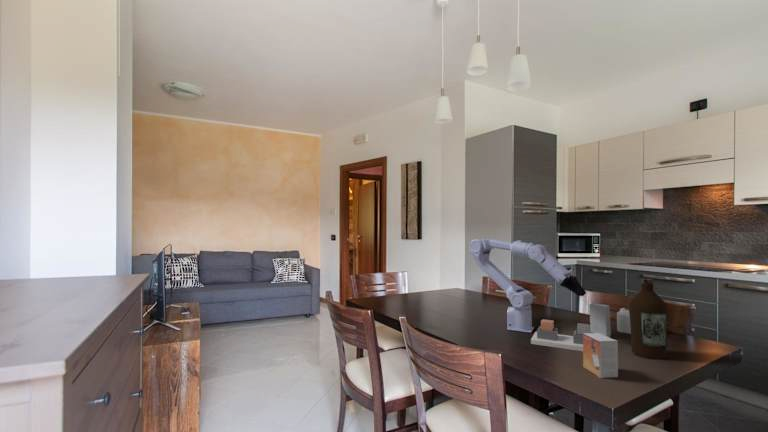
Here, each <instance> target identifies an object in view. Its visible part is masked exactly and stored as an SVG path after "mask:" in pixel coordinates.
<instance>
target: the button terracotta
mask: <svg viewBox="0 0 768 432" xmlns="http://www.w3.org/2000/svg"><path fill="white" fill-rule="evenodd" d="M554 323H555V321H554V319H553V320H551V319H541V320H540V326H541V330H544V331H552V332H553V331H554V328H555V324H554Z"/></svg>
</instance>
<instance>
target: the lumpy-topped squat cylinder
mask: <svg viewBox="0 0 768 432" xmlns="http://www.w3.org/2000/svg"><path fill="white" fill-rule="evenodd" d="M616 331H617V332H619V333H623V334H629V335H631V327H630V315H629V309H627V308H625V307H622V308H621V307H620V309H619V311H617V312H616Z"/></svg>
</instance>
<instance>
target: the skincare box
mask: <svg viewBox="0 0 768 432" xmlns="http://www.w3.org/2000/svg"><path fill="white" fill-rule="evenodd" d="M588 307H589V308H588V309H589V323H590V332H593V333H601V334H603V335H605V336H607V337H609V338H611V335H612V329H611V328H612V327H611V311H610V305H608V304H602V303H594V302H593V303H590V304H589V305H588Z"/></svg>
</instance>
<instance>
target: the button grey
mask: <svg viewBox="0 0 768 432" xmlns="http://www.w3.org/2000/svg"><path fill="white" fill-rule="evenodd" d="M576 324H577V325H576V330H577V335H583V333H590V332H591V328H590V324H588V323H576Z"/></svg>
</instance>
